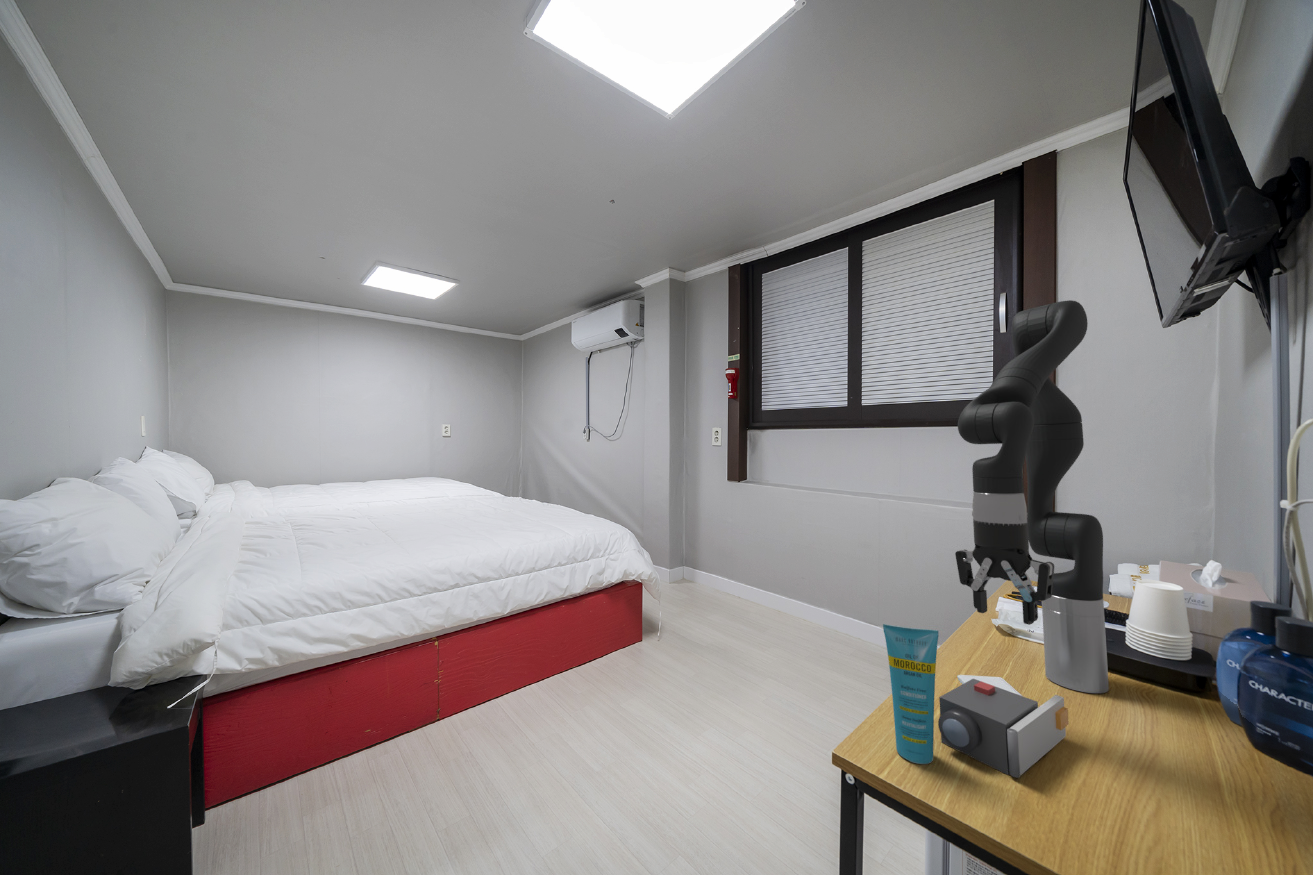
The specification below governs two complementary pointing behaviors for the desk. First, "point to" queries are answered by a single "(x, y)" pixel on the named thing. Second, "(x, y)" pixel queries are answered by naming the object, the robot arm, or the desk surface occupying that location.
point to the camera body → (981, 721)
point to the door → (1036, 735)
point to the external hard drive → (989, 682)
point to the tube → (913, 689)
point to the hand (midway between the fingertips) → (1004, 617)
